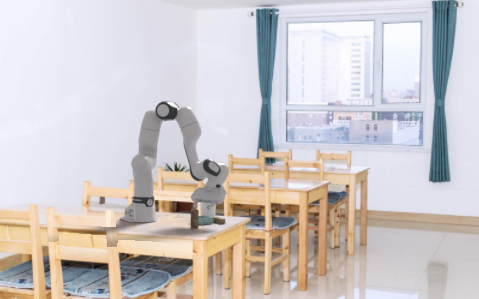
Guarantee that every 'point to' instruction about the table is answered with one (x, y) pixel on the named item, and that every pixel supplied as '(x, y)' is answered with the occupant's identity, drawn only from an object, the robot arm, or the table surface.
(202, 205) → the white tapered container
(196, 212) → the stick
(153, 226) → the table surface
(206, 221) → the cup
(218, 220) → the wick
